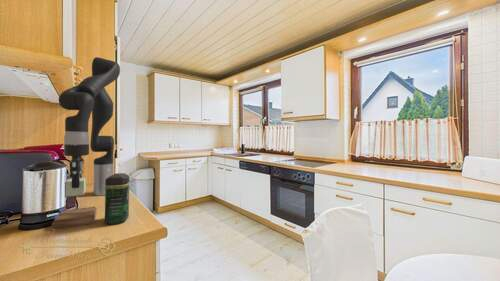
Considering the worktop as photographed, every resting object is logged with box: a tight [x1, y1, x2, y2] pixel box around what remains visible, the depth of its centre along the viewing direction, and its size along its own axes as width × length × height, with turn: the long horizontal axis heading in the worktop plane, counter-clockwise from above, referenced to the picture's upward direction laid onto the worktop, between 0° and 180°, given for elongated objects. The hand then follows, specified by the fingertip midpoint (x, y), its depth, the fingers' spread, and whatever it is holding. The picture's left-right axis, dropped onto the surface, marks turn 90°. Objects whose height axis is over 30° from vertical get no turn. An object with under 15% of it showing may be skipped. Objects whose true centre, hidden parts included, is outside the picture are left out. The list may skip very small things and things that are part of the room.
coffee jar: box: [104, 172, 130, 225], centre depth 83 cm, size 10×8×19 cm
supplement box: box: [66, 173, 77, 210], centre depth 93 cm, size 9×5×16 cm, turn 84°
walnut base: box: [51, 206, 98, 230], centre depth 82 cm, size 12×12×3 cm
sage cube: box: [65, 177, 87, 197], centre depth 82 cm, size 6×6×6 cm
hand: (76, 185), depth 82 cm, fingers closed on sage cube, 5 cm apart
